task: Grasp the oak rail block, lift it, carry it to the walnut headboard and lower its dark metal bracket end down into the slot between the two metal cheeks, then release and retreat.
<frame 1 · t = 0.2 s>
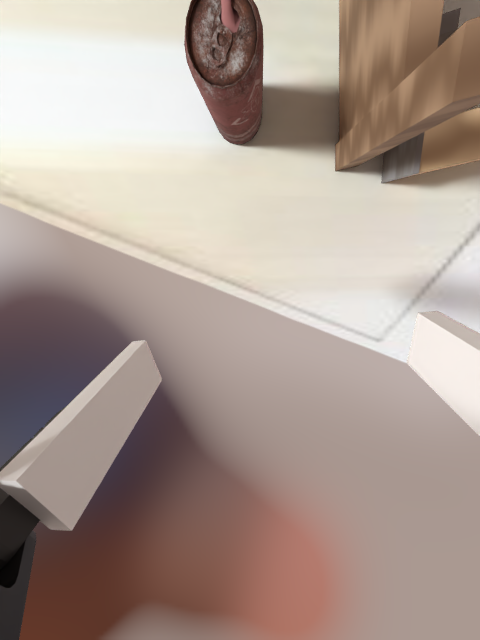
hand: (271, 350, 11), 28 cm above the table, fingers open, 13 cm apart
can: (238, 115, 28), on the table
headboard: (348, 50, 24), on the table
rail: (439, 150, 27), on the table
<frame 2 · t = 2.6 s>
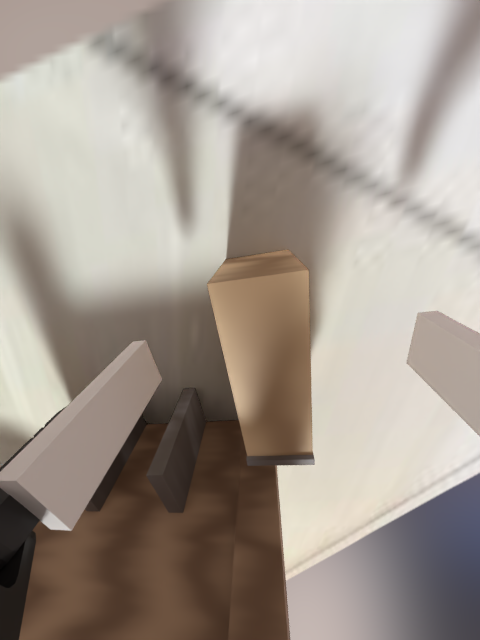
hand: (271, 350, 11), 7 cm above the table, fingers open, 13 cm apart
headboard: (173, 429, 24), on the table
rail: (266, 332, 18), on the table
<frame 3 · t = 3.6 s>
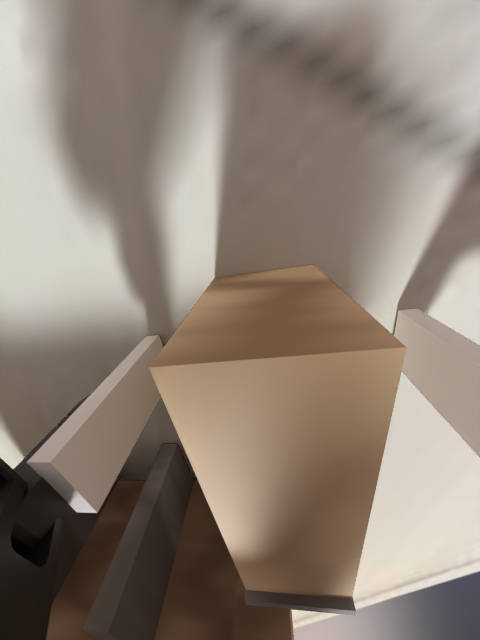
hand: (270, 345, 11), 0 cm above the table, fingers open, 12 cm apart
headboard: (152, 486, 19), on the table
rail: (274, 380, 12), on the table
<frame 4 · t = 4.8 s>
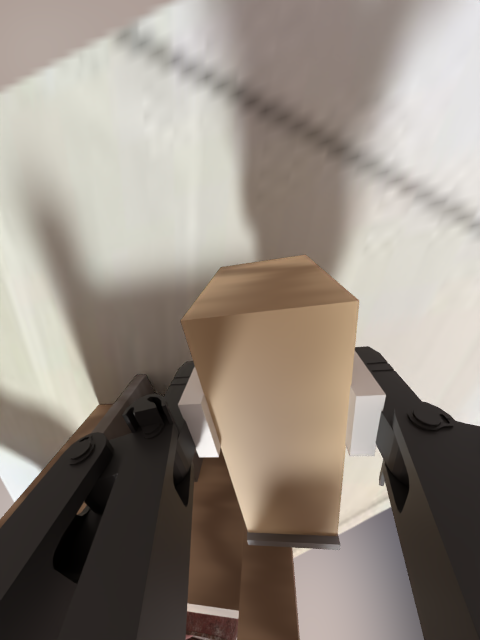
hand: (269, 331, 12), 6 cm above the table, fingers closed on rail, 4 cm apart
can: (227, 471, 31), on the table
headboard: (185, 410, 26), on the table
rail: (273, 359, 14), point 5 cm above the table, touching gripper
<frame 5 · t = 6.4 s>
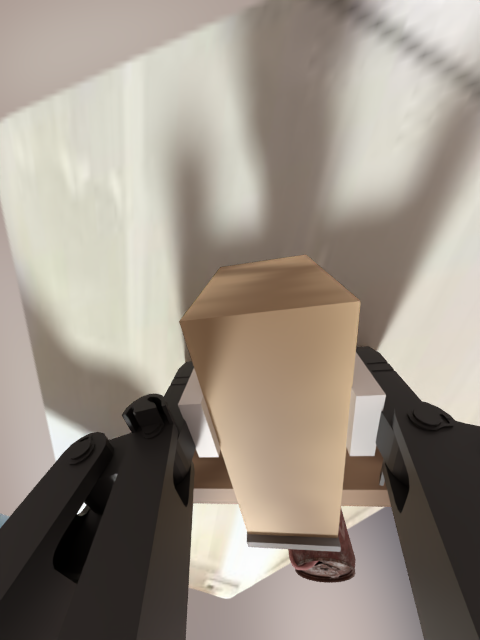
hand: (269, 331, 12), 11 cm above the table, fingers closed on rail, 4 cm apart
can: (298, 433, 32), on the table
headboard: (273, 365, 27), on the table
rail: (273, 360, 14), point 10 cm above the table, touching gripper
when the fingers open (0 cm above the table, at t = 8.1 s): rail stays where it is, on the table.
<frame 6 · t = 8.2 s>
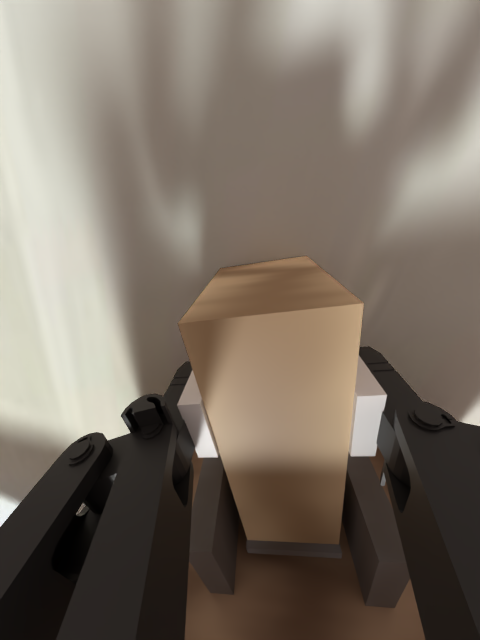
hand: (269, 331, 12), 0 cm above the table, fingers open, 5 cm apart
headboard: (281, 445, 17), on the table
rail: (273, 362, 14), on the table, touching gripper
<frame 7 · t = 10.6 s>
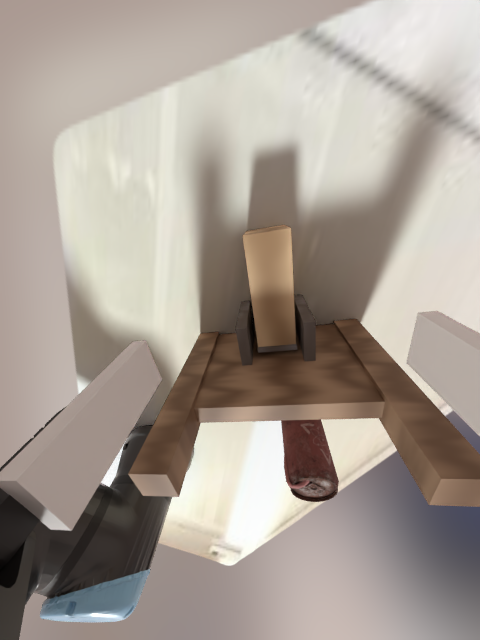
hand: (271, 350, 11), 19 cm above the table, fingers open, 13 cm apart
can: (295, 398, 37), on the table
headboard: (274, 335, 32), on the table
rail: (270, 280, 28), on the table
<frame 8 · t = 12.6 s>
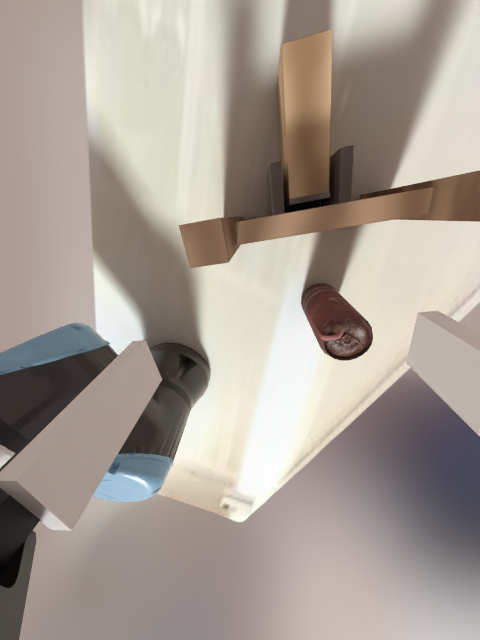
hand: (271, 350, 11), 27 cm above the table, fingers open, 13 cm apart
can: (317, 299, 37), on the table
headboard: (299, 217, 31), on the table
rail: (298, 146, 28), on the table
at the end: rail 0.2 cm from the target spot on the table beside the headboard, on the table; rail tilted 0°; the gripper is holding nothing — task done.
